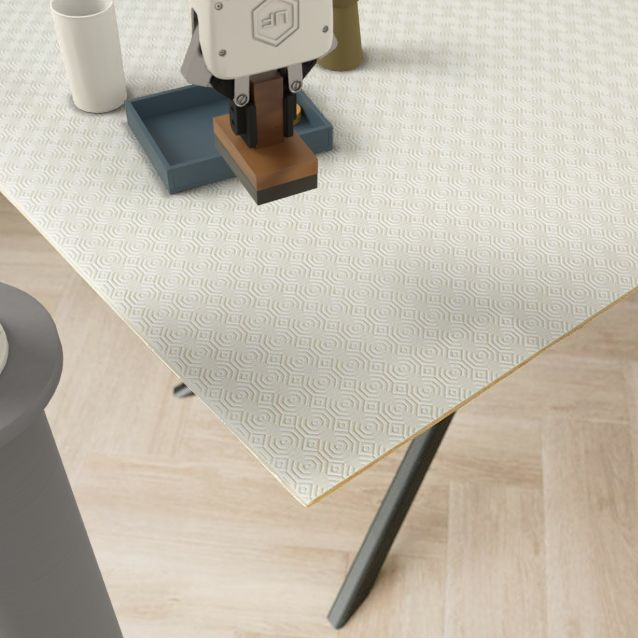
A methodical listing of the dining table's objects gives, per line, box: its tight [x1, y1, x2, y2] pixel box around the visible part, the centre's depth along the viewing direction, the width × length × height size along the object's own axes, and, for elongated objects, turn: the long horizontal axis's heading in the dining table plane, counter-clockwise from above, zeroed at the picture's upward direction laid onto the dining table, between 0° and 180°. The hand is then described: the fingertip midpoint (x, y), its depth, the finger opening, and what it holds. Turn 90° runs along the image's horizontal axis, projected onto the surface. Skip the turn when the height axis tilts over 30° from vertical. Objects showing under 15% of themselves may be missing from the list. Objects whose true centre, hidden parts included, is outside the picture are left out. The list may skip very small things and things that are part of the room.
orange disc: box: [293, 104, 301, 125], centre depth 105 cm, size 4×4×1 cm
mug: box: [49, 0, 128, 114], centre depth 104 cm, size 10×7×12 cm, turn 32°
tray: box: [123, 84, 334, 195], centre depth 102 cm, size 19×14×3 cm
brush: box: [213, 69, 319, 206], centre depth 74 cm, size 6×9×9 cm, turn 28°
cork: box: [316, 0, 364, 72], centre depth 111 cm, size 6×6×11 cm
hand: (264, 131), depth 75 cm, fingers closed on brush, 2 cm apart
